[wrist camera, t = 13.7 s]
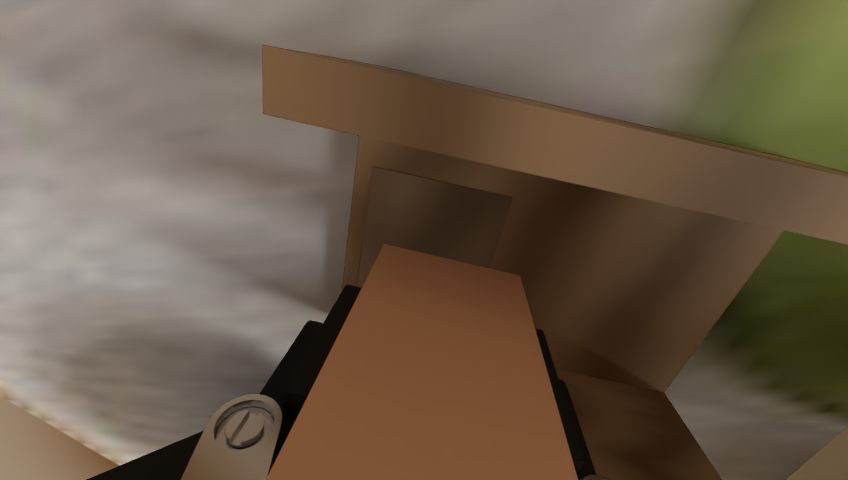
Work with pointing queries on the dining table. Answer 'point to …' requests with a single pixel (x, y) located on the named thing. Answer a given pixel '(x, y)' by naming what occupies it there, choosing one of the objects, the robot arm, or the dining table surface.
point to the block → (431, 383)
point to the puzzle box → (567, 228)
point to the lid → (827, 461)
